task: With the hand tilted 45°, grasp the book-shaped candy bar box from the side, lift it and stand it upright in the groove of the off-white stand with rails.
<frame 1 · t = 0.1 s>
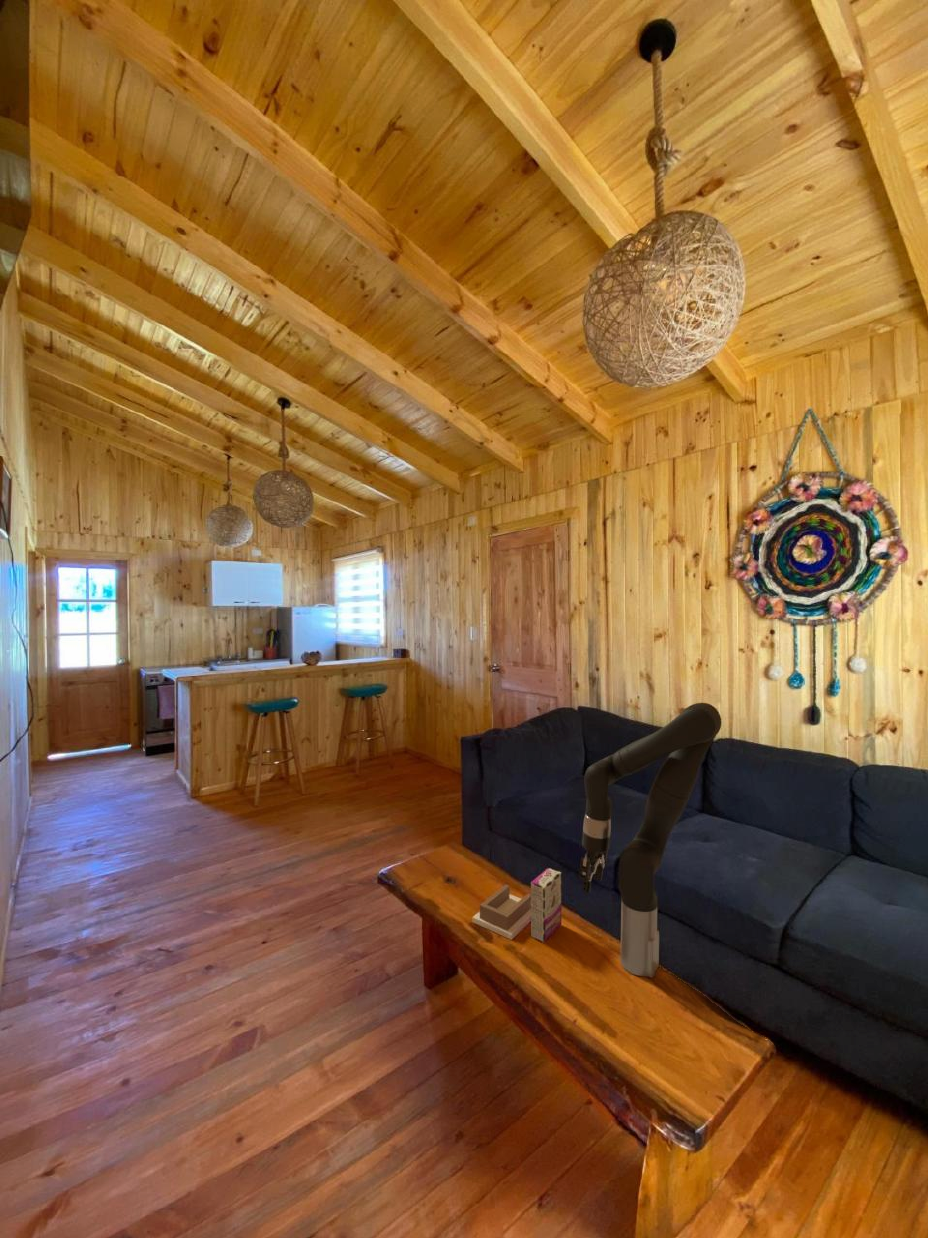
hand: (592, 886, 147), 17 cm above the table, tool pointing down, fingers open, 8 cm apart
candy bar box: (545, 931, 154), on the table
slot stand: (507, 916, 161), on the table
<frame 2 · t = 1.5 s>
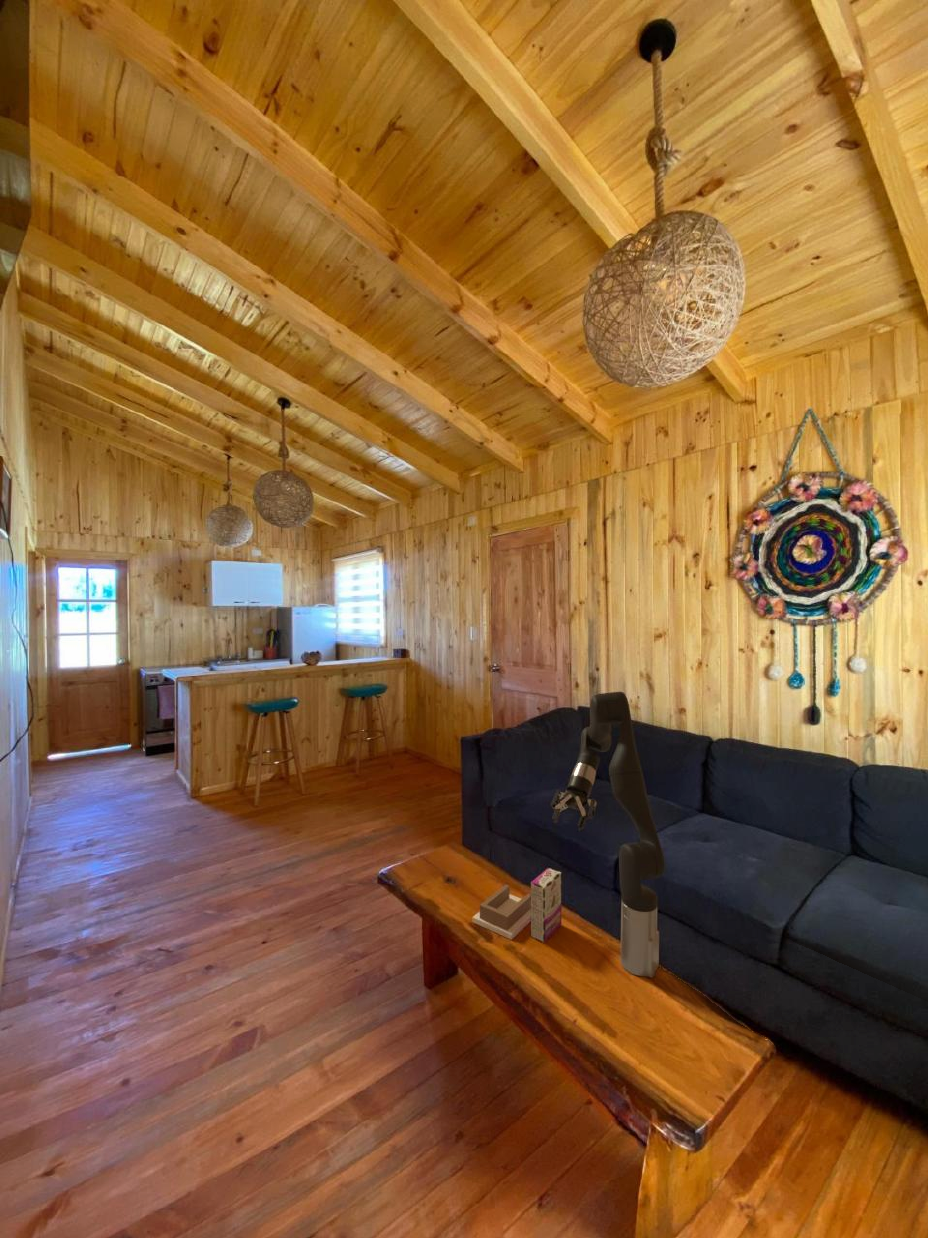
hand: (566, 825, 164), 27 cm above the table, tool tilted 45°, fingers open, 8 cm apart
nothing on the table moved.
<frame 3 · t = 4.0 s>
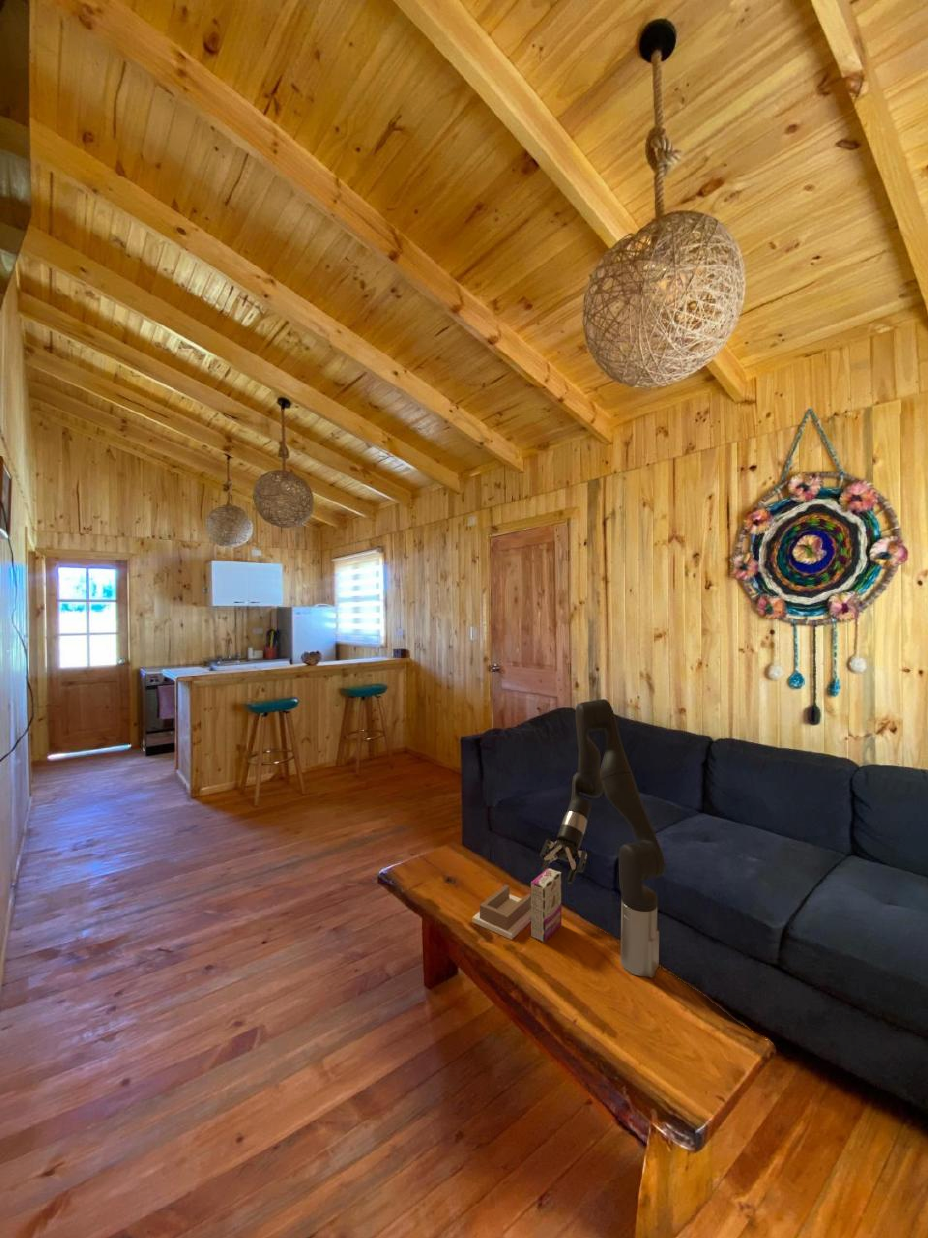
hand: (556, 878, 159), 13 cm above the table, tool tilted 45°, fingers open, 8 cm apart
nothing on the table moved.
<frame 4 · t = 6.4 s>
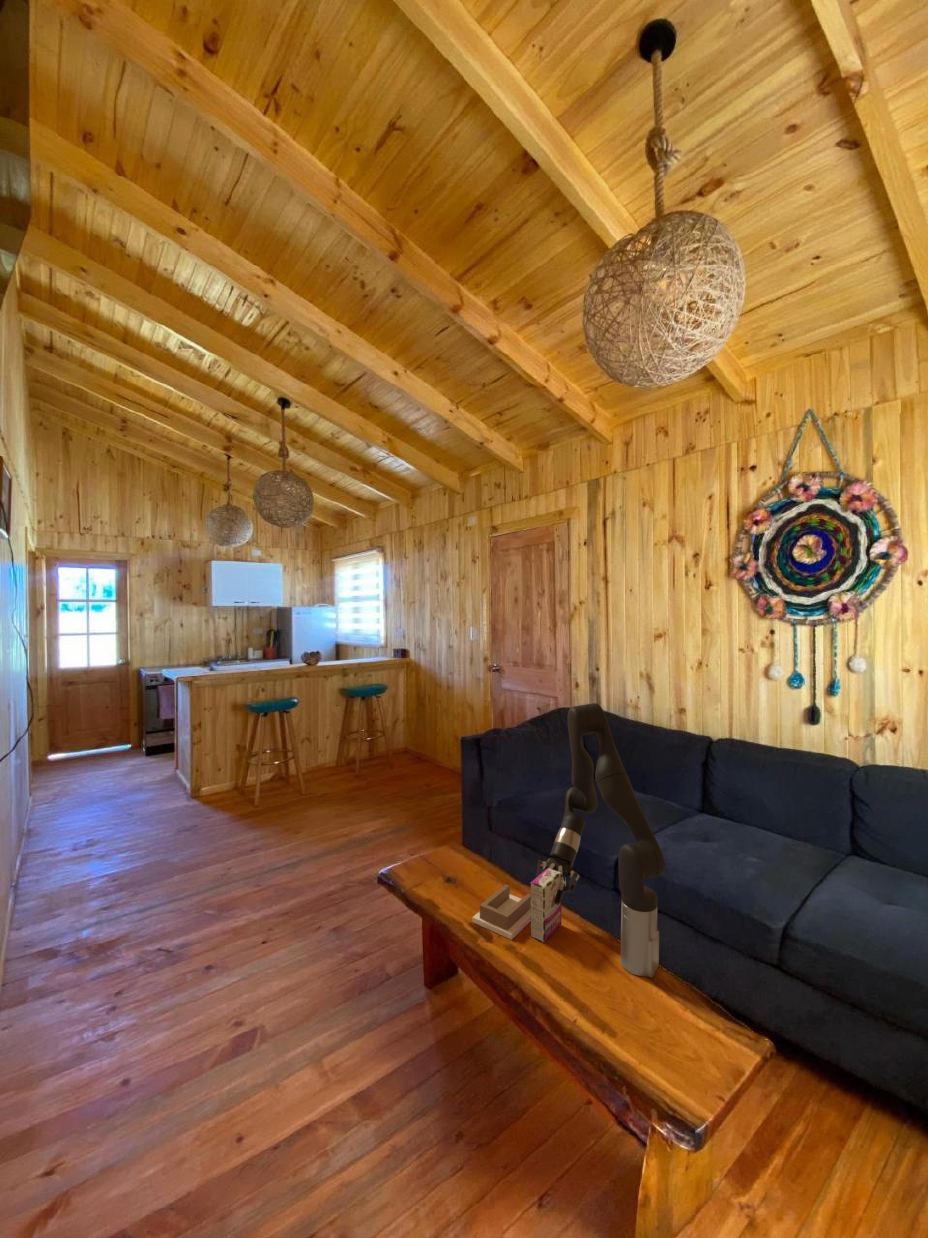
hand: (547, 900, 155), 9 cm above the table, tool tilted 45°, fingers closed on candy bar box, 5 cm apart
candy bar box: (545, 931, 154), on the table, touching gripper
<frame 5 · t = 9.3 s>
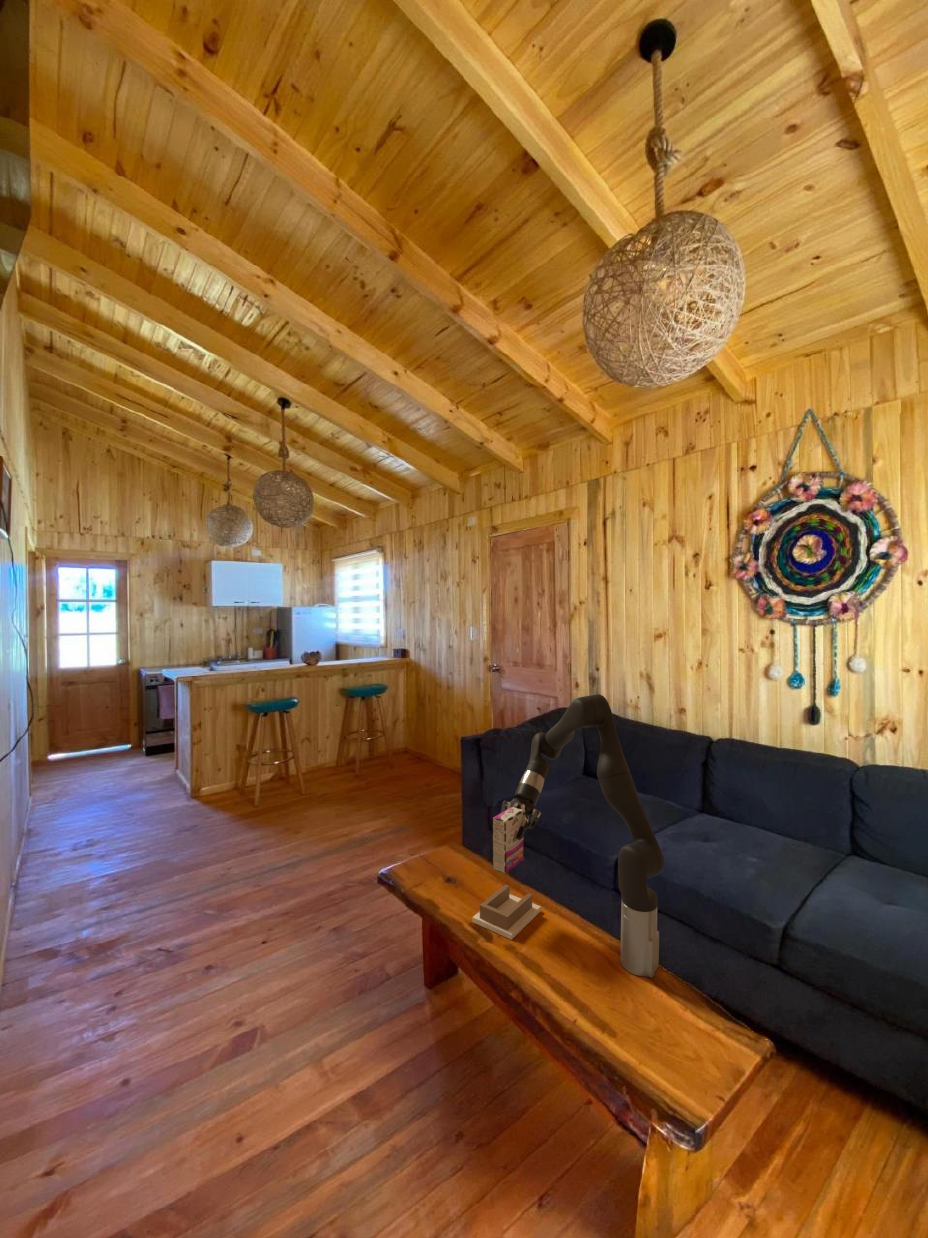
hand: (510, 836, 161), 25 cm above the table, tool tilted 45°, fingers closed on candy bar box, 5 cm apart
candy bar box: (508, 865, 161), point 16 cm above the table, touching gripper
when the fingers open (11 cm above the table, at t = 12.1 s): candy bar box drops 1 cm, resting on slot stand.
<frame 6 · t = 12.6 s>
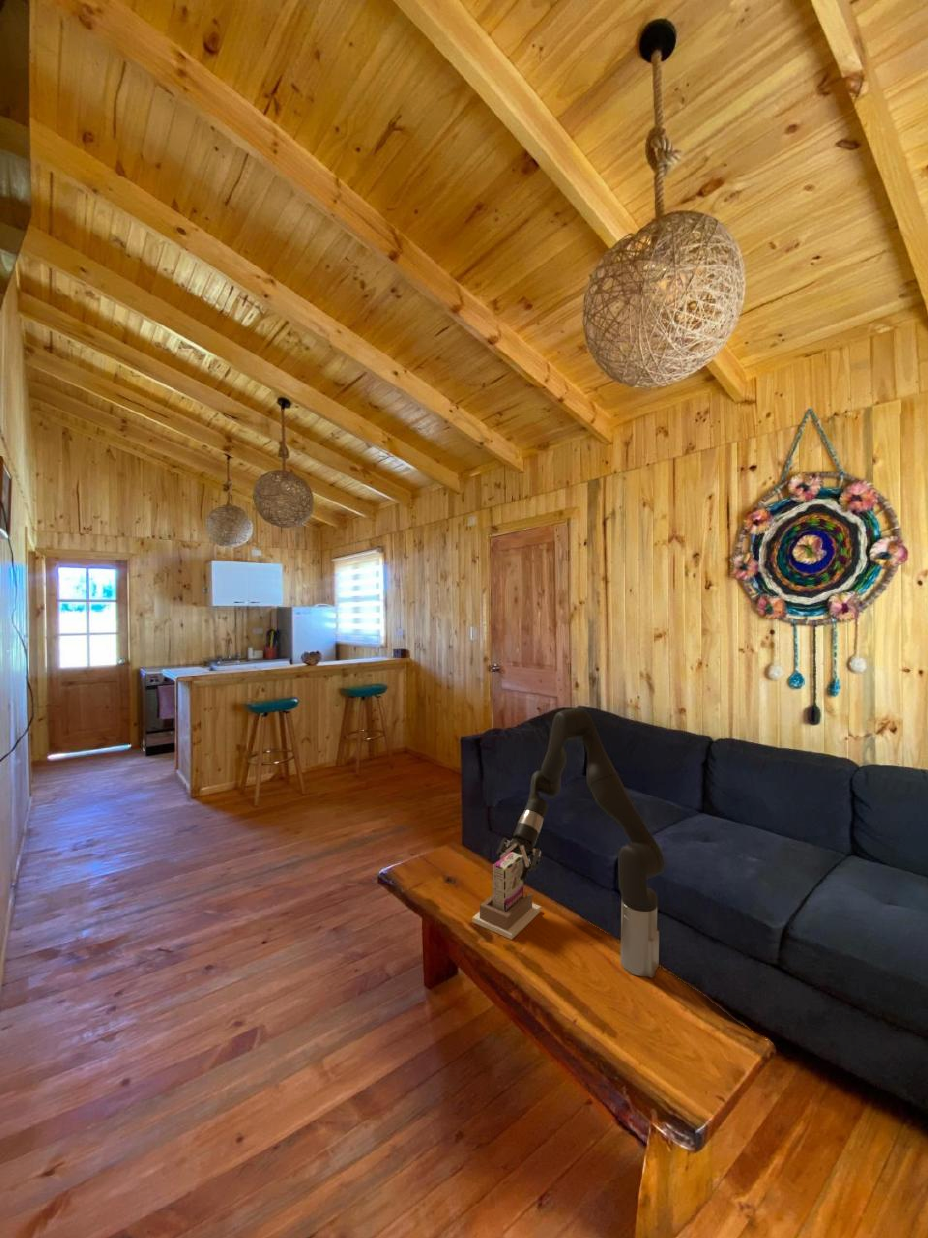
hand: (510, 876, 162), 12 cm above the table, tool tilted 45°, fingers open, 8 cm apart
candy bar box: (507, 912, 161), point 1 cm above the table, touching slot stand
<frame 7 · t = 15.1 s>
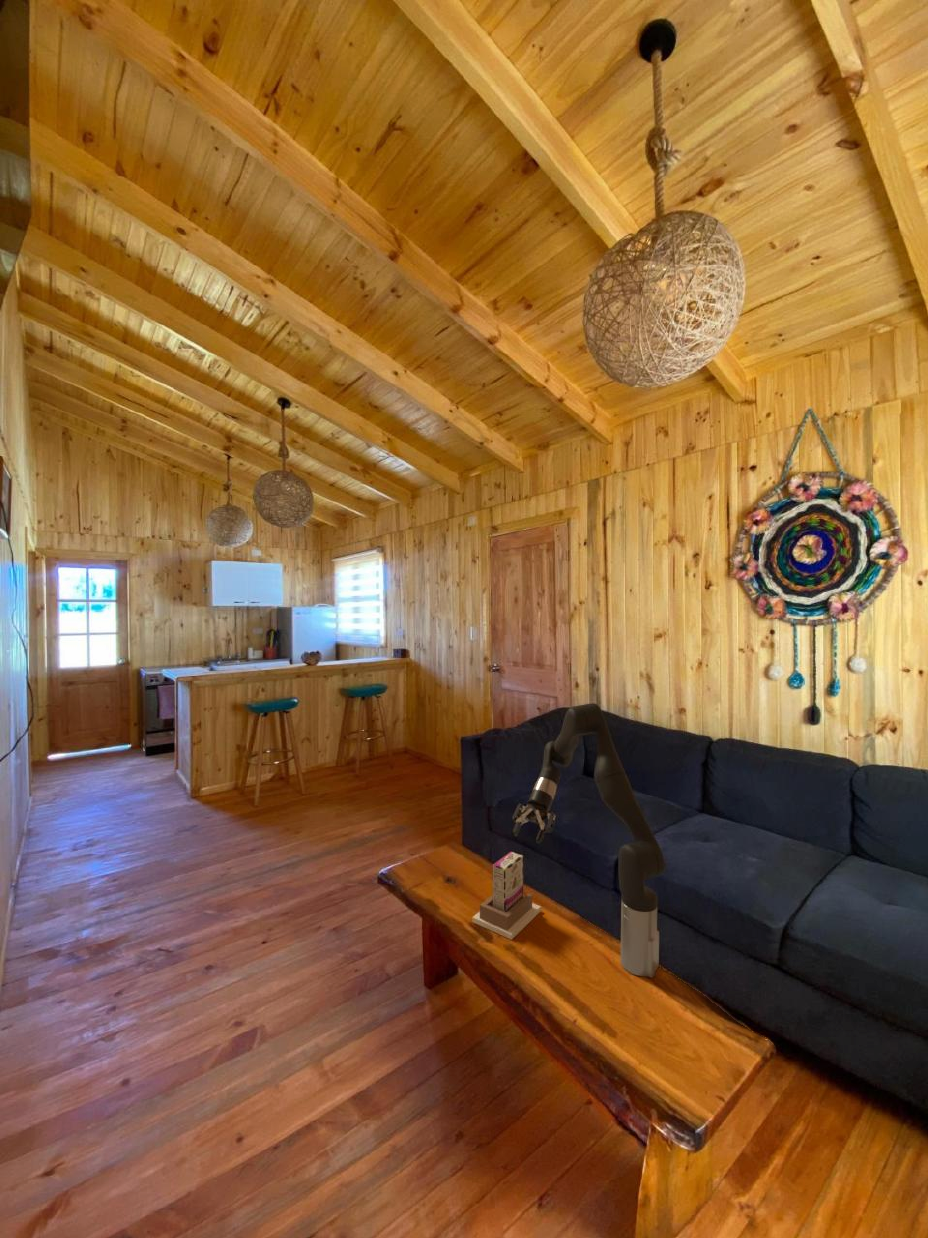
hand: (526, 838, 170), 21 cm above the table, tool tilted 45°, fingers open, 8 cm apart
nothing on the table moved.
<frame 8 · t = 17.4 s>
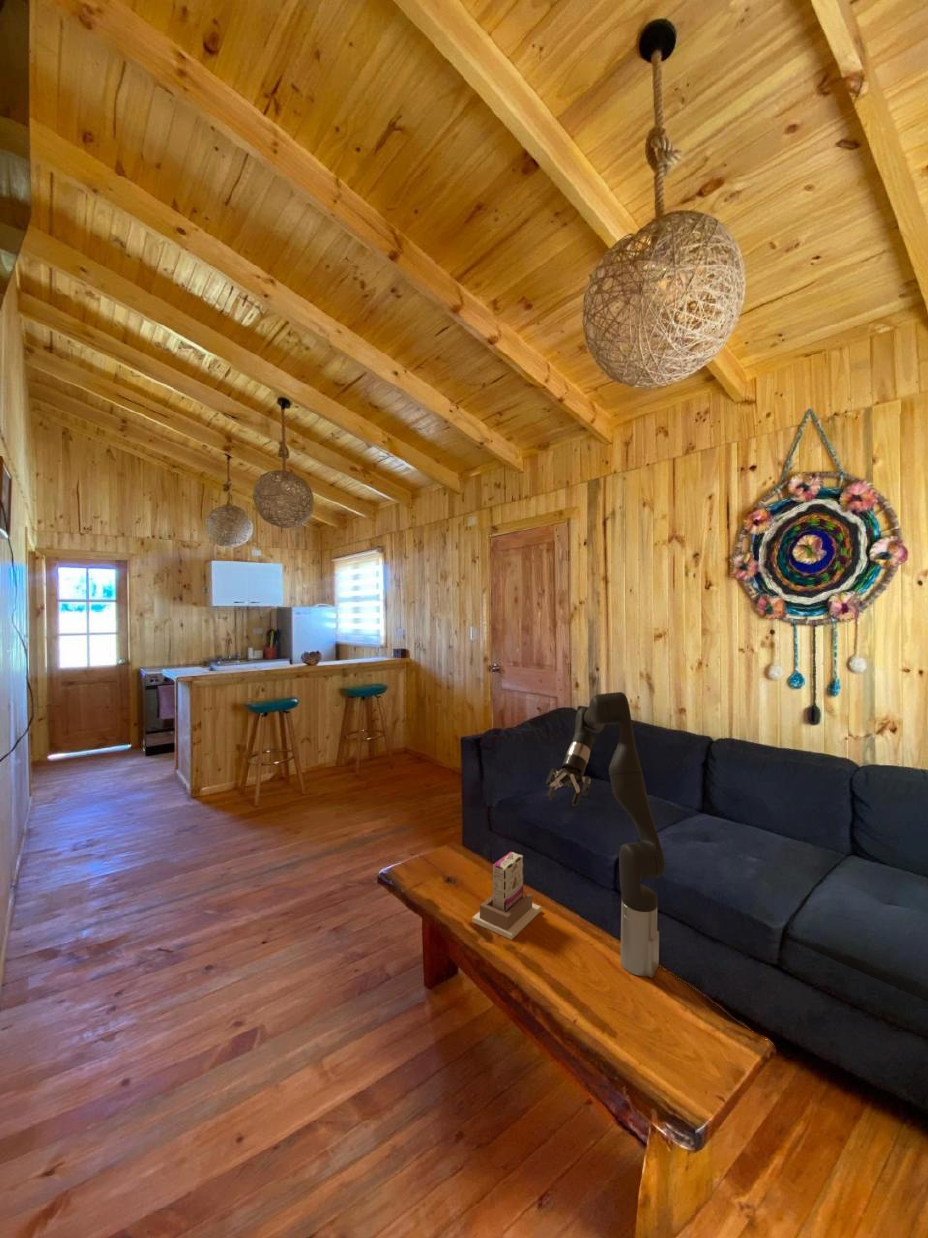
hand: (561, 802, 168), 34 cm above the table, tool tilted 45°, fingers open, 8 cm apart
nothing on the table moved.
at the end: candy bar box 0.8 cm off-centre on the slot stand, point 1.3 cm above the slot stand's base; candy bar box tilted 0°; the gripper is holding nothing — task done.
